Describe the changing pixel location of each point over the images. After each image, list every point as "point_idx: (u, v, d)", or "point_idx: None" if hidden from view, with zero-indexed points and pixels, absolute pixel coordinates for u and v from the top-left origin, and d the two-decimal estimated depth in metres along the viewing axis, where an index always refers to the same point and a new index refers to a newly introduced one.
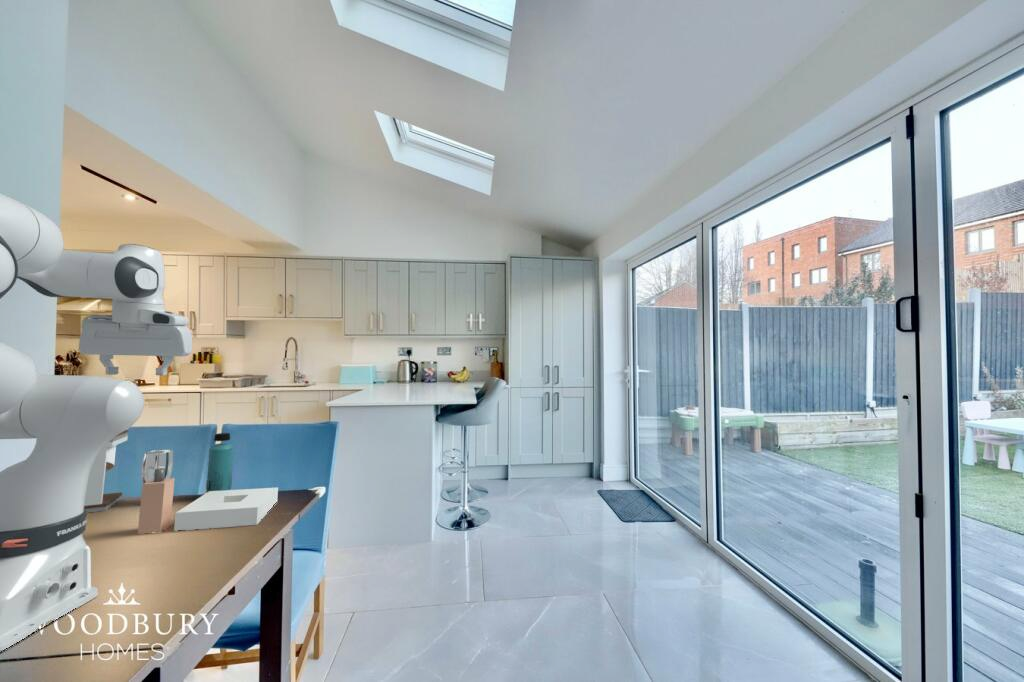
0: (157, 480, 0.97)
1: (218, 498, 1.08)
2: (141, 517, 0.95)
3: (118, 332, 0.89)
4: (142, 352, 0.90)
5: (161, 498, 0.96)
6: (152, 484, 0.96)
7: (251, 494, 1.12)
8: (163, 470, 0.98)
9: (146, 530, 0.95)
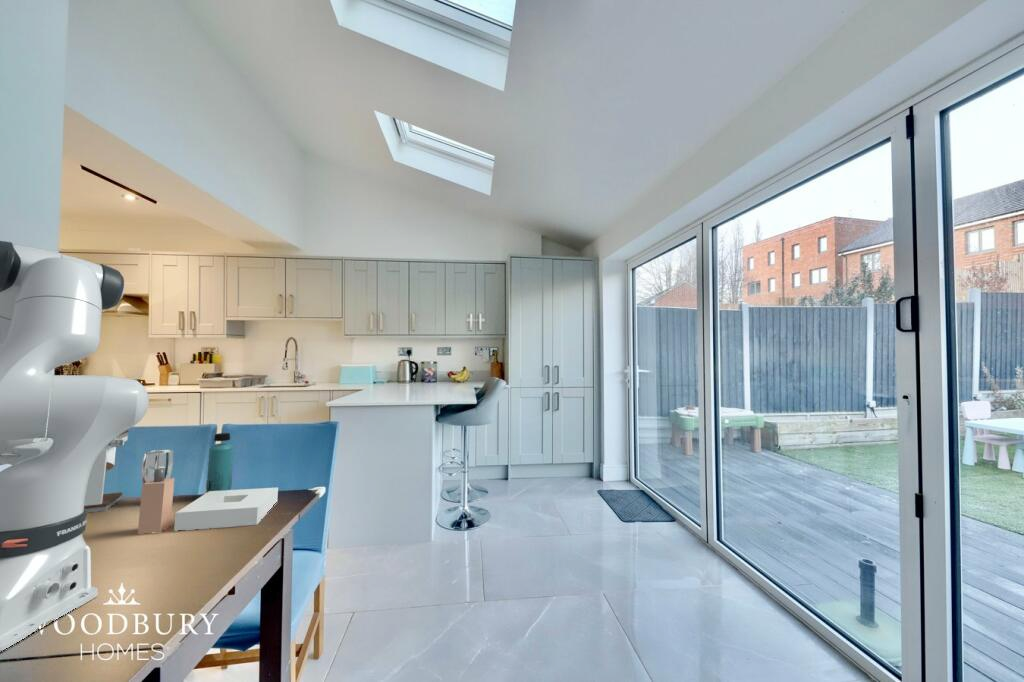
0: (157, 480, 0.97)
1: (218, 498, 1.08)
2: (141, 517, 0.95)
3: (49, 442, 0.92)
4: None
5: (160, 498, 0.96)
6: (152, 484, 0.96)
7: (251, 494, 1.12)
8: (163, 470, 0.98)
9: (146, 530, 0.95)
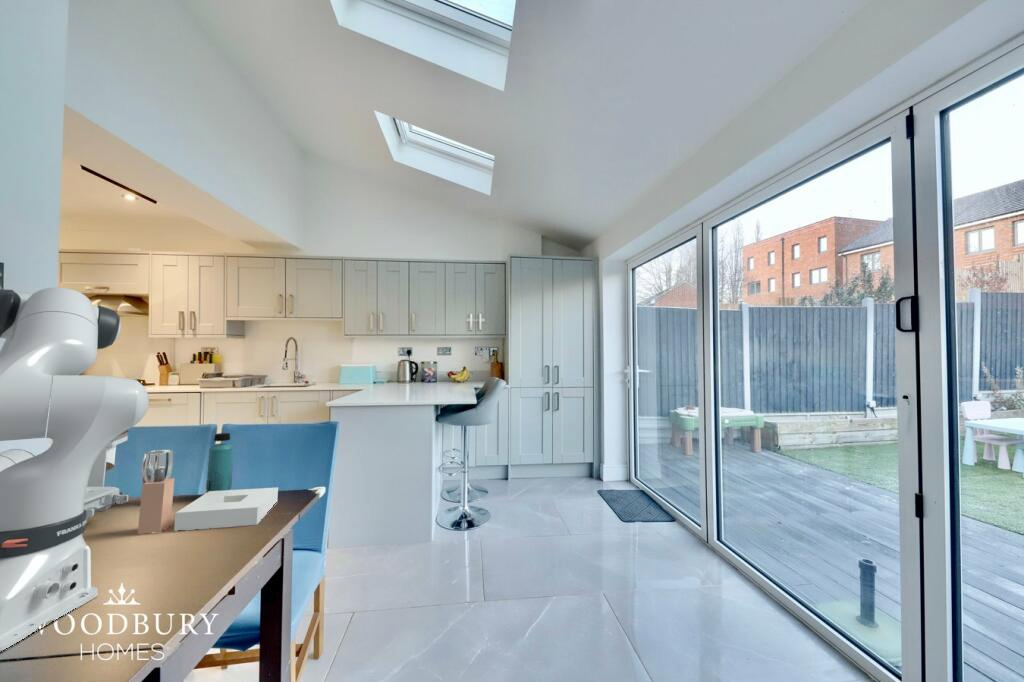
0: (157, 480, 0.97)
1: (218, 498, 1.08)
2: (141, 517, 0.95)
3: None
4: (92, 496, 0.96)
5: (160, 498, 0.96)
6: (152, 484, 0.96)
7: (251, 494, 1.12)
8: (163, 470, 0.98)
9: (146, 530, 0.95)
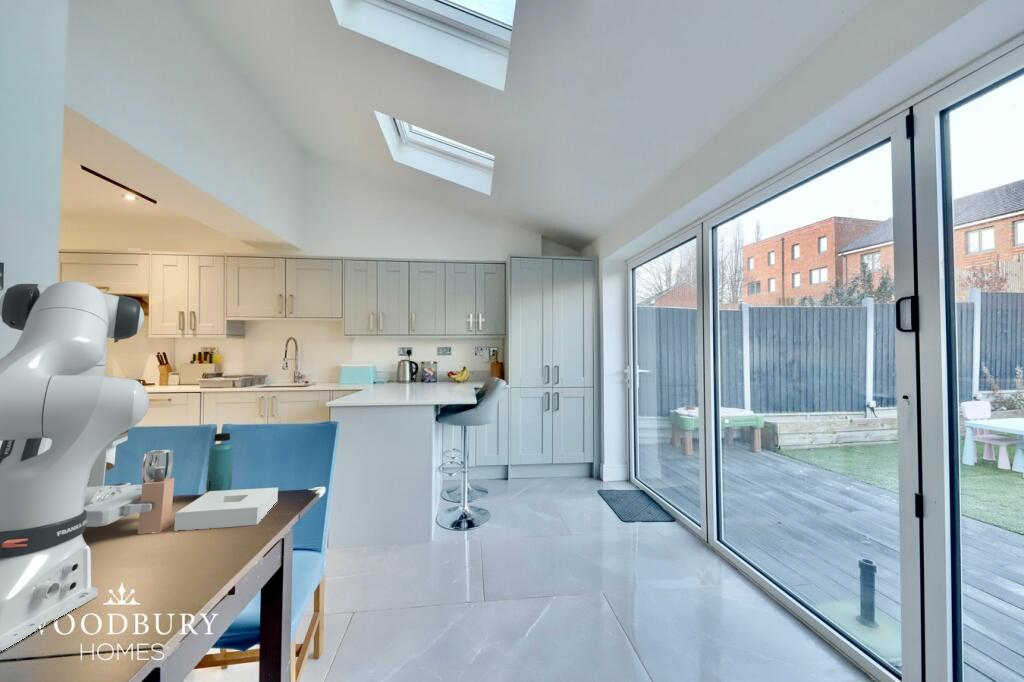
0: (157, 480, 0.97)
1: (218, 498, 1.08)
2: (141, 517, 0.95)
3: (106, 502, 0.93)
4: None
5: (160, 498, 0.96)
6: (152, 484, 0.96)
7: (251, 494, 1.12)
8: (163, 470, 0.98)
9: (146, 530, 0.95)
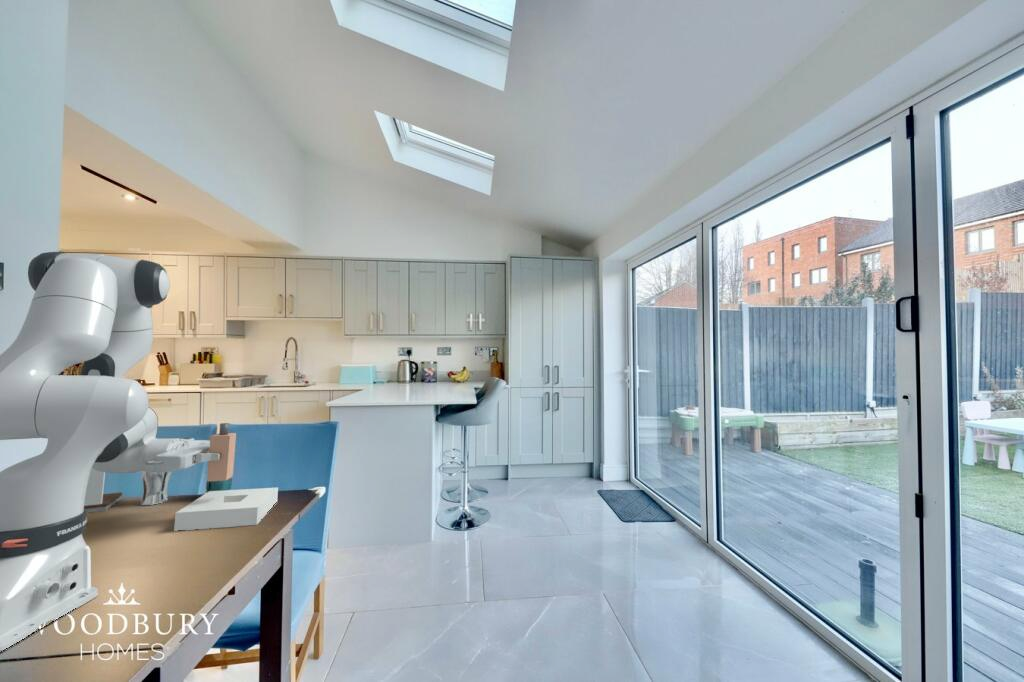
0: (222, 433, 1.07)
1: (218, 498, 1.08)
2: (209, 466, 1.04)
3: (179, 451, 1.02)
4: (208, 446, 1.08)
5: (226, 449, 1.06)
6: (219, 436, 1.05)
7: (251, 494, 1.12)
8: (227, 424, 1.08)
9: (214, 477, 1.04)
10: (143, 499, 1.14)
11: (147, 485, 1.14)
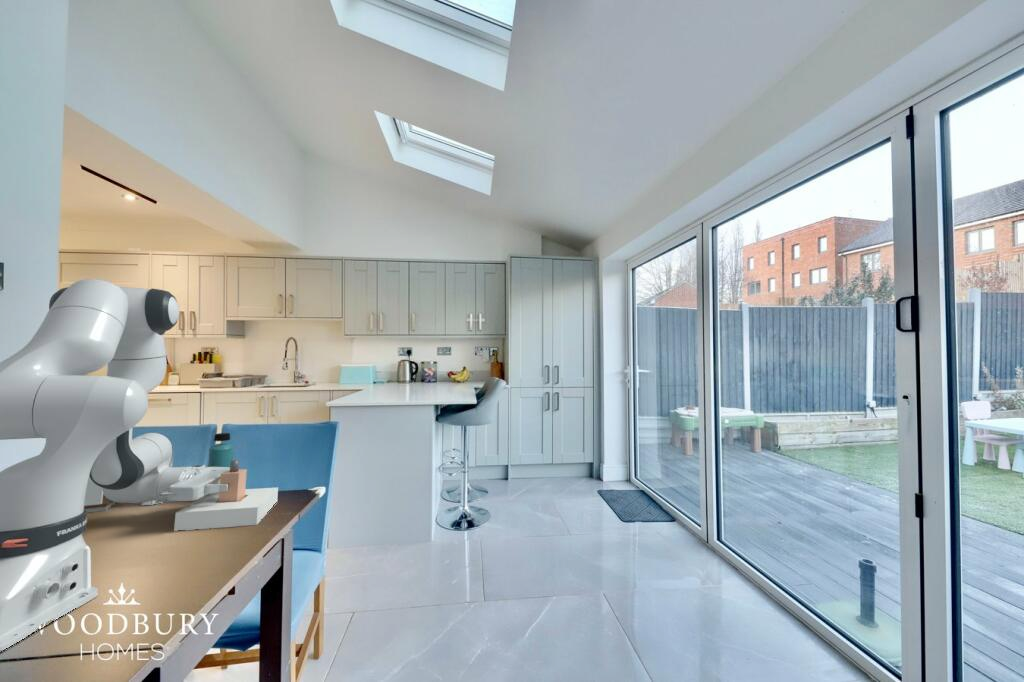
0: (232, 470, 1.07)
1: (218, 498, 1.08)
2: None
3: (191, 480, 1.04)
4: (219, 474, 1.09)
5: (236, 487, 1.06)
6: (228, 474, 1.06)
7: (251, 494, 1.12)
8: (237, 461, 1.08)
9: None
10: None
11: None
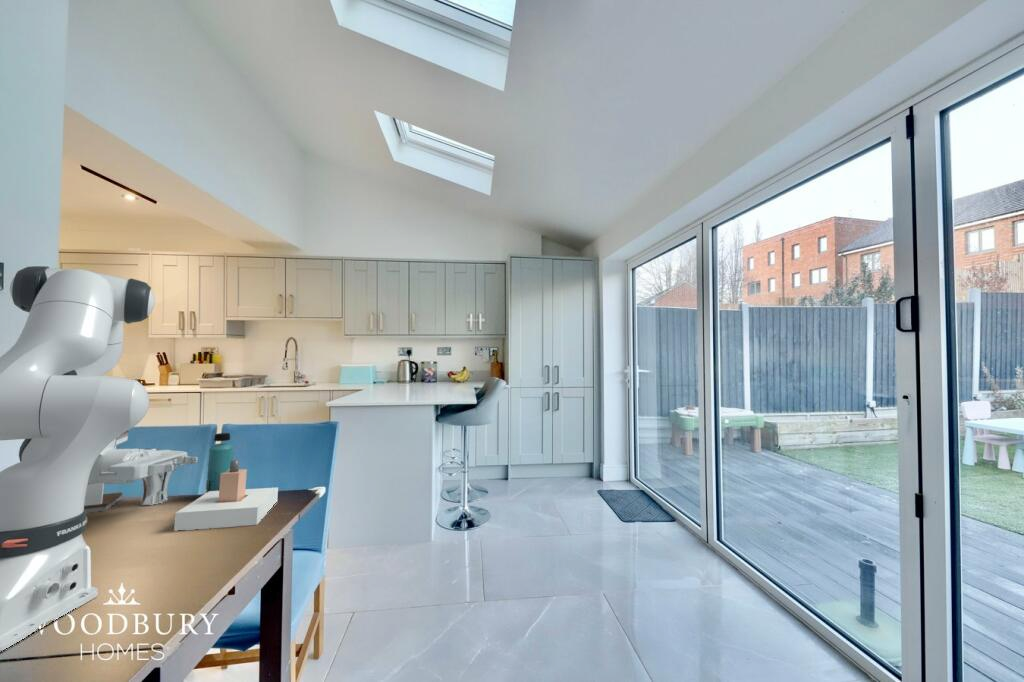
0: (232, 470, 1.07)
1: (218, 498, 1.08)
2: None
3: (136, 461, 1.01)
4: (167, 456, 1.07)
5: (236, 487, 1.06)
6: (228, 474, 1.06)
7: (251, 494, 1.12)
8: (237, 461, 1.08)
9: None
10: (143, 499, 1.14)
11: (147, 485, 1.14)
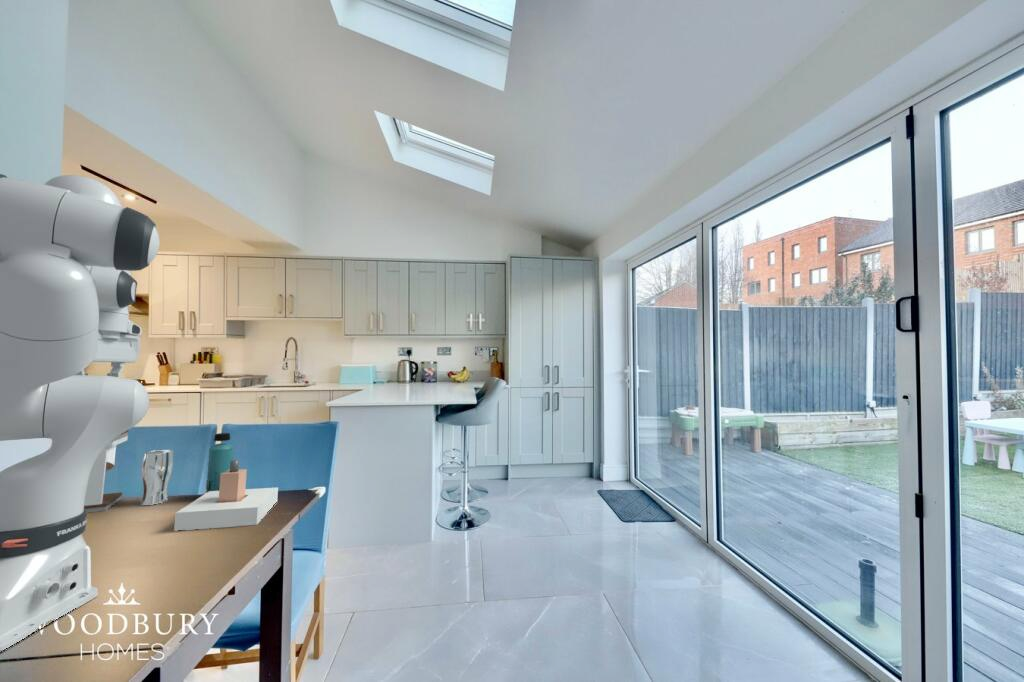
0: (232, 470, 1.07)
1: (218, 498, 1.08)
2: None
3: (98, 340, 0.93)
4: (113, 359, 0.98)
5: (236, 487, 1.06)
6: (228, 474, 1.06)
7: (251, 494, 1.12)
8: (237, 461, 1.08)
9: None
10: (143, 499, 1.14)
11: (147, 485, 1.14)
